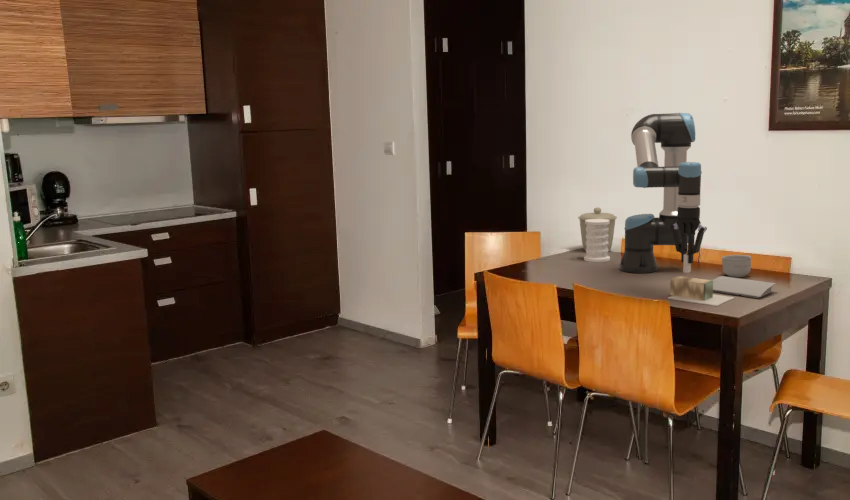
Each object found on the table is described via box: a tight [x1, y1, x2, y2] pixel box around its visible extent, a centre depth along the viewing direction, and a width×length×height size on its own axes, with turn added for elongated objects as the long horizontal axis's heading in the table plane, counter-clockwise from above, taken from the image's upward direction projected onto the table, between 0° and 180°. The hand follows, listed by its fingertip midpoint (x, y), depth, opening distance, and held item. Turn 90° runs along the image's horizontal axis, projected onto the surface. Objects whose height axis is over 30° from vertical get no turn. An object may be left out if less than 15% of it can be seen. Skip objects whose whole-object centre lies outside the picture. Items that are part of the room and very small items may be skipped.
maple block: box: [669, 275, 714, 300], centre depth 267 cm, size 6×6×13 cm
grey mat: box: [667, 293, 735, 307], centre depth 265 cm, size 18×14×1 cm
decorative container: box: [583, 219, 611, 263], centre depth 339 cm, size 12×12×18 cm
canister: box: [578, 206, 618, 251], centre depth 360 cm, size 18×18×21 cm
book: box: [712, 275, 777, 299], centre depth 273 cm, size 15×23×4 cm, turn 44°
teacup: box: [721, 254, 752, 278], centre depth 298 cm, size 14×11×8 cm
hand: (686, 271), depth 267 cm, fingers closed
